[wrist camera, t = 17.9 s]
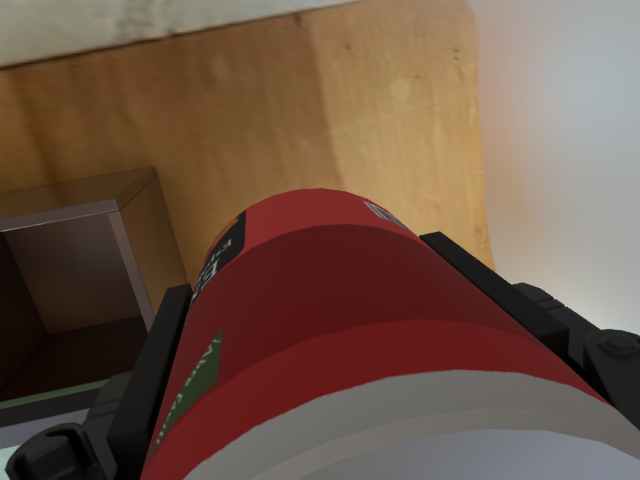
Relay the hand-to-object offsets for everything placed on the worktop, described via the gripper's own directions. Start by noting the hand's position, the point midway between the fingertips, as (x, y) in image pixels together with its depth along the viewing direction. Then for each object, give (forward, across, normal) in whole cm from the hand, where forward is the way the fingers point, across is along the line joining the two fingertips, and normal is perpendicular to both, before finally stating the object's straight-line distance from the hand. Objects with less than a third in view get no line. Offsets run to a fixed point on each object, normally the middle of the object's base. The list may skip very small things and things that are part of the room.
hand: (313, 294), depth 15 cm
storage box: (+24, -16, -4) cm, 29 cm away
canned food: (+1, 0, 0) cm, 1 cm away
